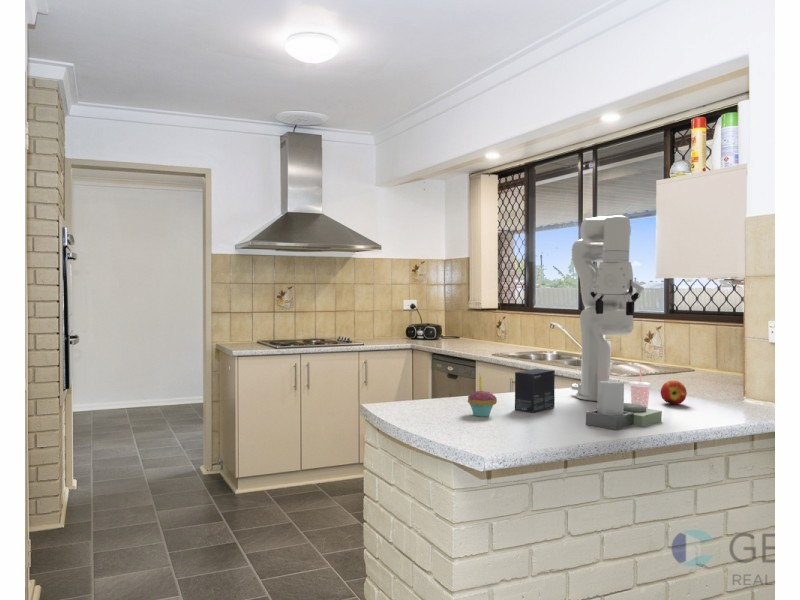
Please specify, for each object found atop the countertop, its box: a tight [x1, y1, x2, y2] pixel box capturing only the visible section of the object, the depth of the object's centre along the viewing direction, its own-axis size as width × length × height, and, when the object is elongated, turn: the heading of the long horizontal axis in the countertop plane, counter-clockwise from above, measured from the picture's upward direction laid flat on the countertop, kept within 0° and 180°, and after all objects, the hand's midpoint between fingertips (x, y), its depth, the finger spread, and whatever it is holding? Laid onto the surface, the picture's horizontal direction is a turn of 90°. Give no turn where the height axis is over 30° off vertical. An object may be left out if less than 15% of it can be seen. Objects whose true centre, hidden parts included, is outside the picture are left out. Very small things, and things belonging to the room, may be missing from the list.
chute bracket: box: [585, 409, 634, 431], centre depth 178 cm, size 9×10×4 cm
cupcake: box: [467, 373, 498, 418], centre depth 188 cm, size 9×8×12 cm
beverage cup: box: [629, 366, 652, 409], centre depth 198 cm, size 6×6×14 cm
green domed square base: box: [595, 402, 663, 428], centre depth 185 cm, size 14×12×4 cm
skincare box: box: [596, 380, 625, 416], centre depth 178 cm, size 6×4×12 cm
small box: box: [514, 368, 556, 414], centre depth 199 cm, size 13×7×12 cm, turn 137°
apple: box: [660, 379, 688, 405], centre depth 213 cm, size 8×8×8 cm
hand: (614, 314), depth 192 cm, fingers open, 9 cm apart
